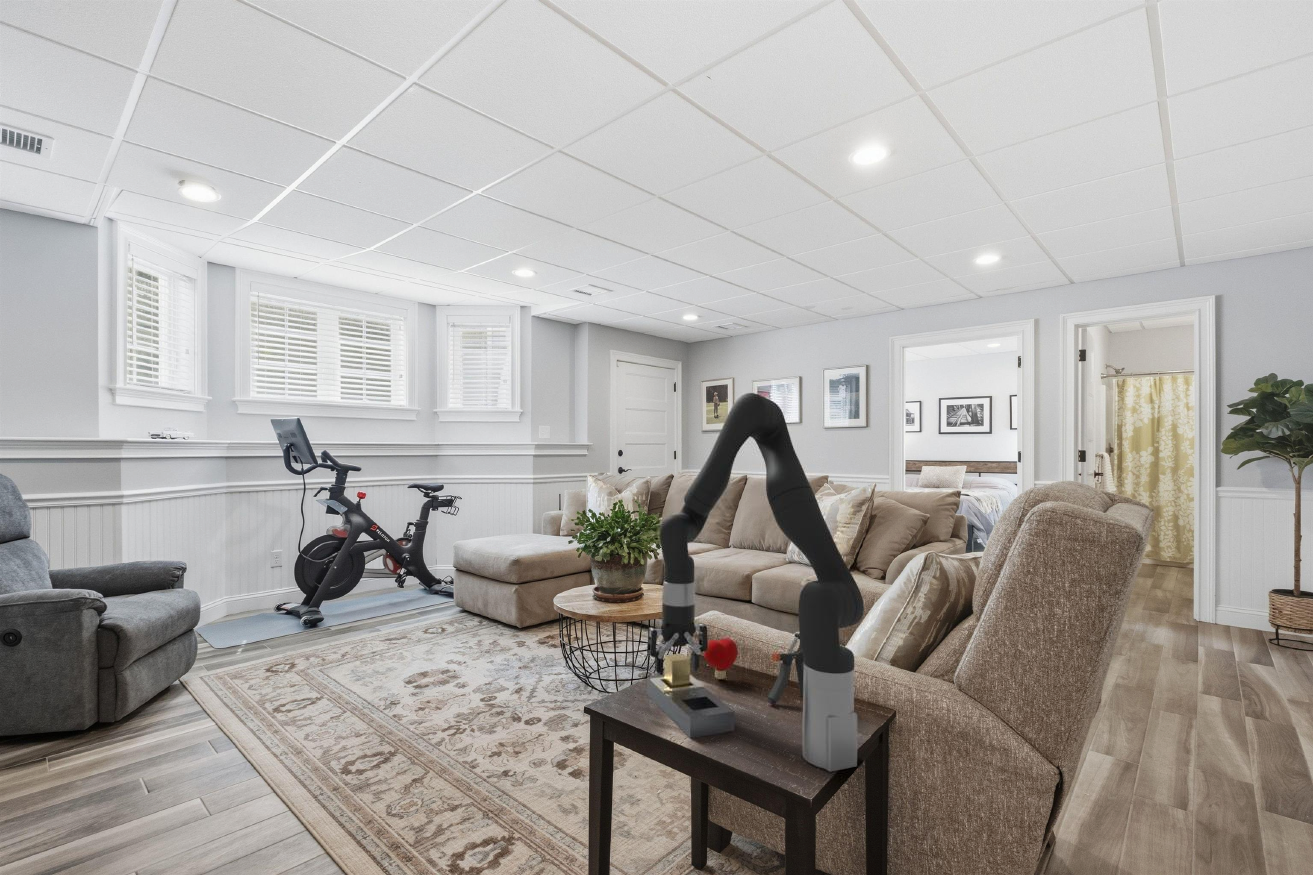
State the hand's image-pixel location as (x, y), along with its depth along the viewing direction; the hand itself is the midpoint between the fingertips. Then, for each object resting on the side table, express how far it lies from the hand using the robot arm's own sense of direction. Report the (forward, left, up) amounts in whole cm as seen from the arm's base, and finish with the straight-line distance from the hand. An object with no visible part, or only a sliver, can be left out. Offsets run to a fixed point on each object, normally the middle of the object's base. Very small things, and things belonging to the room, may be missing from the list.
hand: (677, 672), depth 141 cm
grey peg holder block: (-6, 0, -7) cm, 9 cm away
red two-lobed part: (+9, -16, -7) cm, 20 cm away
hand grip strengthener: (-8, -25, -7) cm, 27 cm away
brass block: (0, 0, -7) cm, 7 cm away
